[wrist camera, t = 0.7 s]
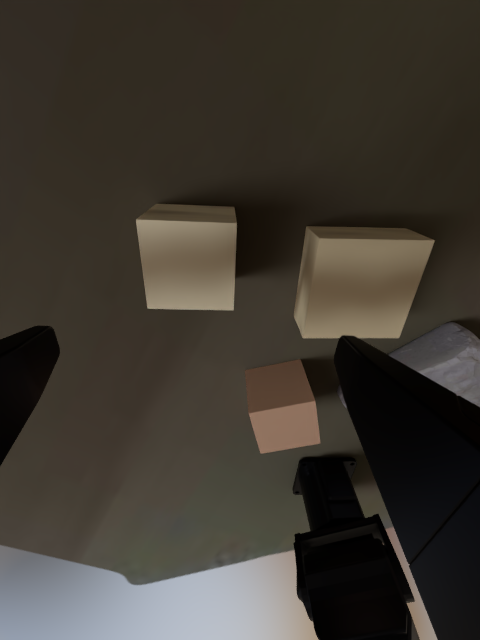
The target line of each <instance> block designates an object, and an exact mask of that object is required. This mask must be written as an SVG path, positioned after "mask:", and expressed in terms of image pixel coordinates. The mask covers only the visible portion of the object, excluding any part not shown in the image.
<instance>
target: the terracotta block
mask: <svg viewBox="0 0 480 640" xmlns="http://www.w3.org/2000/svg"><path fill="white" fill-rule="evenodd" d="M245 376H246V387H247V399H248V410H249V416H250V419H251V423H252V426H253V429H254V433H255V436H256V439H257V443H258V446H259V450H260V453H261V454H263V453H268V452H274V451H280V450H285V449H291V448H297V447H302V446H308V445H314V444H319V443H320V436H319V427H318V419H317V411H316V403H315V399H314V396H313V393H312V390H311V388H310V385H309V382H308V379H307V376H306V374H305V371H304V368H303V365H302V362H301V360H300V359H299V360H294V361H289V362H284V363H279V364H274V365H269V366H264V367H259V368H254V369H249V370H245Z"/></svg>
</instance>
